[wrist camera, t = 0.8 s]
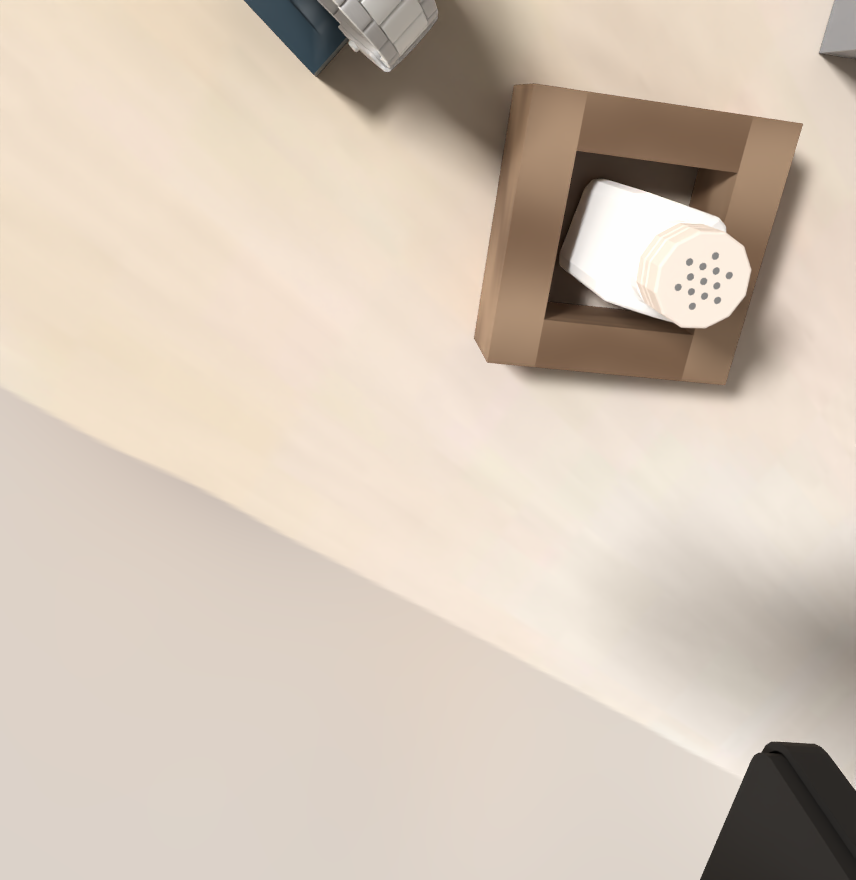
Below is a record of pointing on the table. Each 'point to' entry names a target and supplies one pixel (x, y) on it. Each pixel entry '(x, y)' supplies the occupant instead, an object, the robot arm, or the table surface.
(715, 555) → the table surface
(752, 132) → the shaker holder
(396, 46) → the watch
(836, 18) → the tray
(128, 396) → the table surface
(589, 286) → the salt shaker
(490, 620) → the table surface
